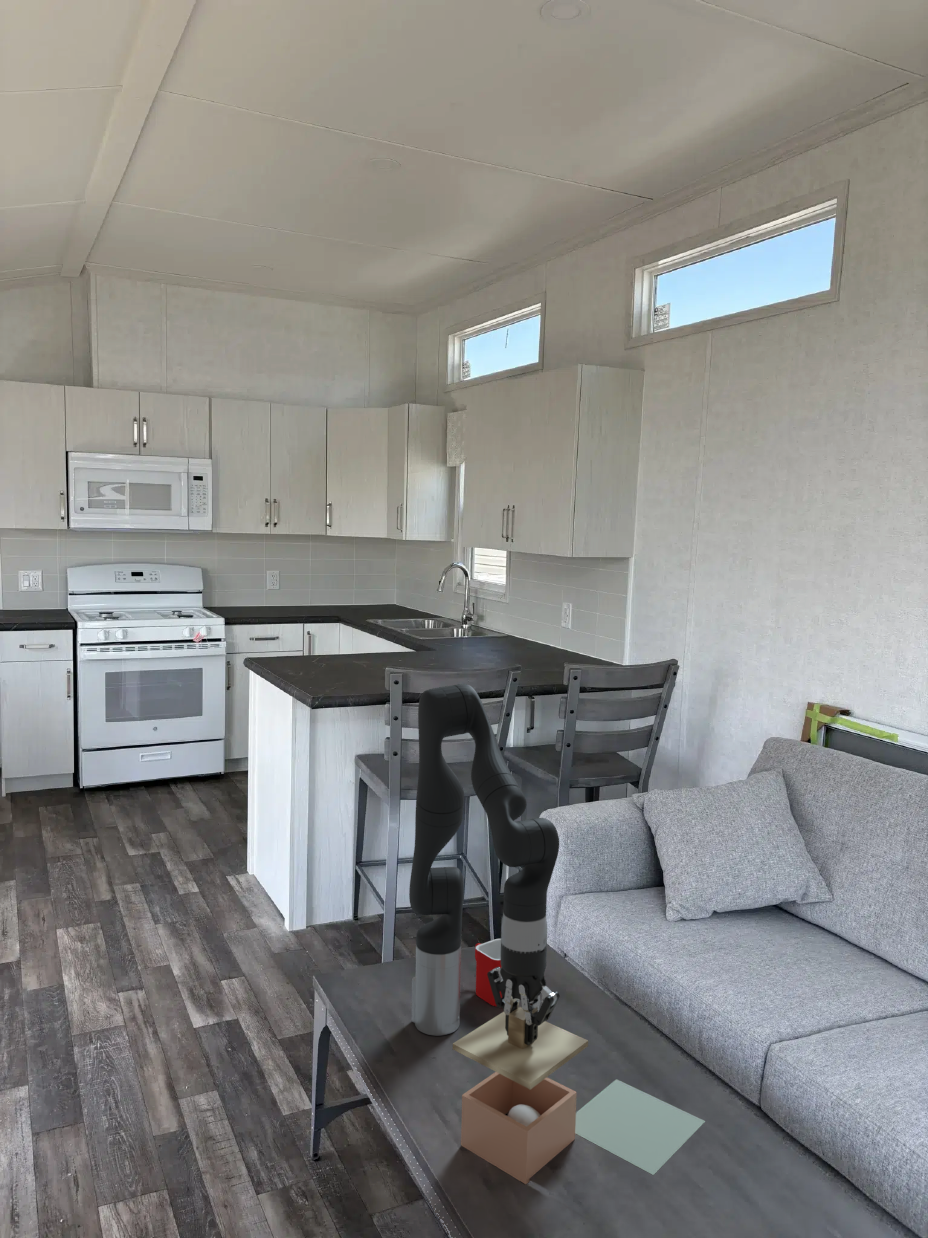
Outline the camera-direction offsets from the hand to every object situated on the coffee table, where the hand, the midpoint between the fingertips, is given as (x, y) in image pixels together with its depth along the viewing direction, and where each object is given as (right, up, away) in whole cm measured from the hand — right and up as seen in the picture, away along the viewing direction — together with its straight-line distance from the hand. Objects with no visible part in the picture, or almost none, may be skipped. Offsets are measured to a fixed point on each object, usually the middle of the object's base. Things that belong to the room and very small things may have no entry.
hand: (521, 1038), depth 155 cm
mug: (-3, -13, +52) cm, 54 cm away
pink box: (0, -19, +2) cm, 19 cm away
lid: (0, -2, 0) cm, 2 cm away
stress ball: (+1, -19, +3) cm, 19 cm away
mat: (+20, -18, +7) cm, 28 cm away
